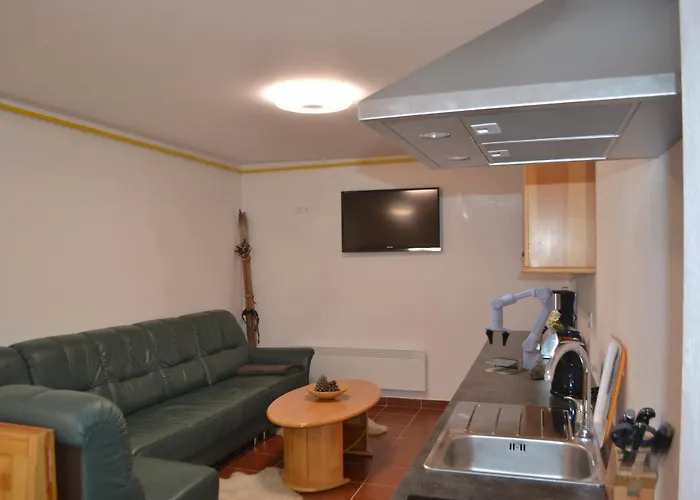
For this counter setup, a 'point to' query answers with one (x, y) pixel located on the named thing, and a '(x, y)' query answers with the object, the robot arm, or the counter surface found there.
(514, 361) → the trapdoor
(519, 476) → the counter surface
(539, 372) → the rock
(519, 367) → the frame
